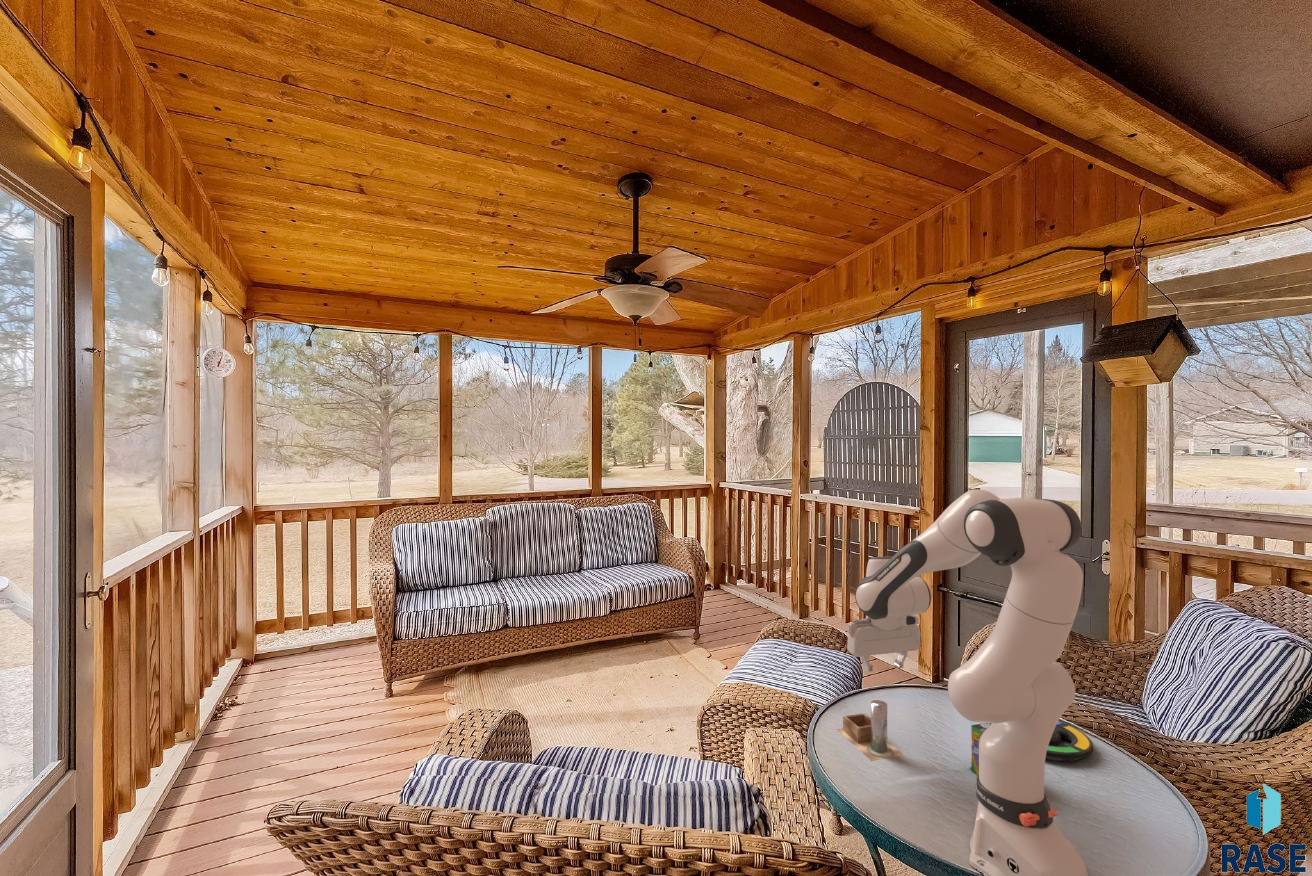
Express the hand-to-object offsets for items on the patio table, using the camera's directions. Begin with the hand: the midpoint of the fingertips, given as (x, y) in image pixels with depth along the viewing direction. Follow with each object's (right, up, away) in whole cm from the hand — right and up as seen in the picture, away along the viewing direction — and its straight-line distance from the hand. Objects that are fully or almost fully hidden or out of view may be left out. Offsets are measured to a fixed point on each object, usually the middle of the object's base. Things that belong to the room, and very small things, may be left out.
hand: (883, 669), depth 150 cm
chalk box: (+24, -23, -11) cm, 35 cm away
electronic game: (+45, -23, +6) cm, 51 cm away
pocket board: (-3, -22, +4) cm, 23 cm away
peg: (-2, -21, -1) cm, 21 cm away
